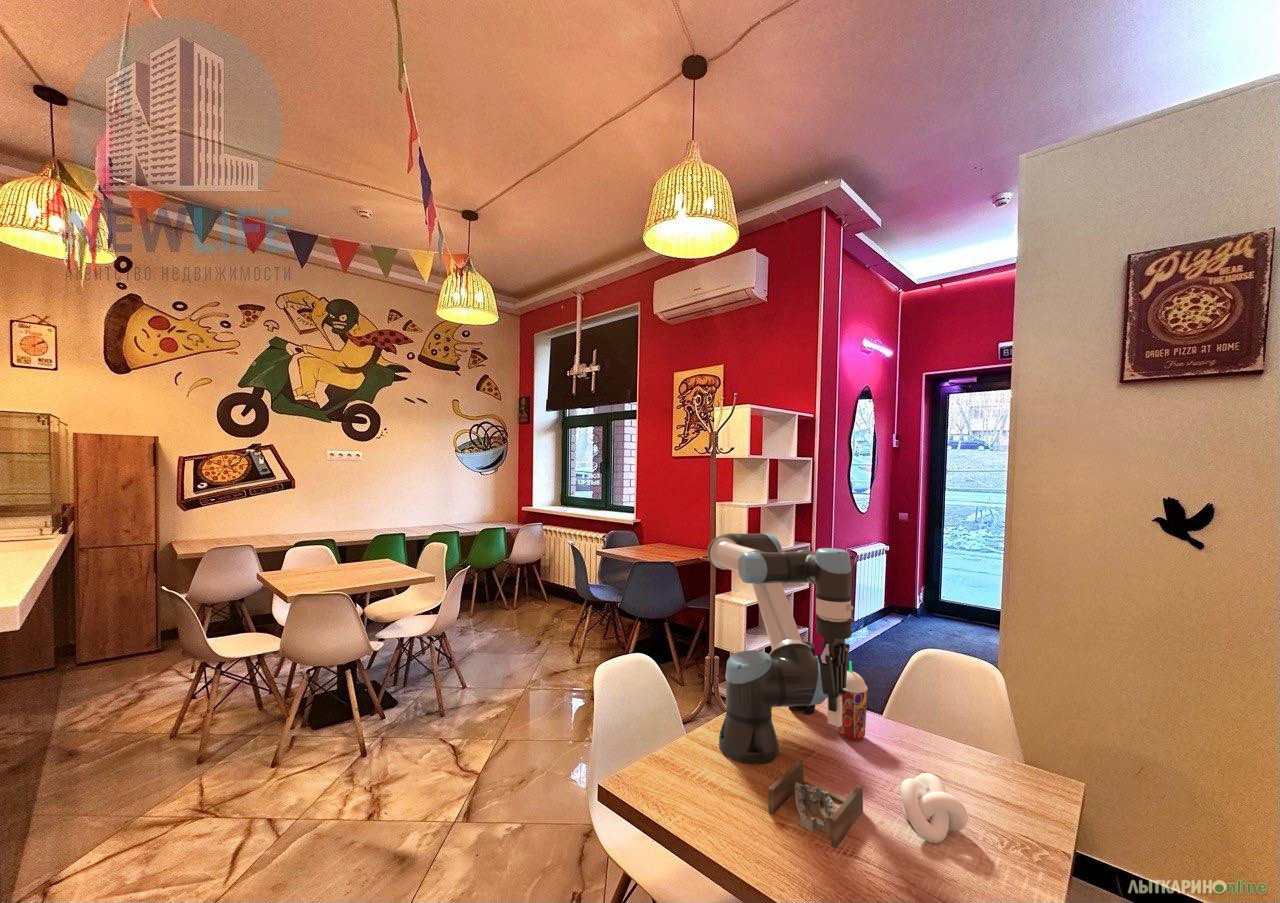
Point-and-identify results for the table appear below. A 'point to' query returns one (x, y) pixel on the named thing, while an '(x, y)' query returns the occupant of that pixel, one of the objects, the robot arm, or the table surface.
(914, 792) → the white knot sculpture
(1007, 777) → the table surface
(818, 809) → the egg carton
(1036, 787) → the table surface
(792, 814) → the table surface
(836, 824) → the brown u-shaped frame
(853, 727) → the smoothie
